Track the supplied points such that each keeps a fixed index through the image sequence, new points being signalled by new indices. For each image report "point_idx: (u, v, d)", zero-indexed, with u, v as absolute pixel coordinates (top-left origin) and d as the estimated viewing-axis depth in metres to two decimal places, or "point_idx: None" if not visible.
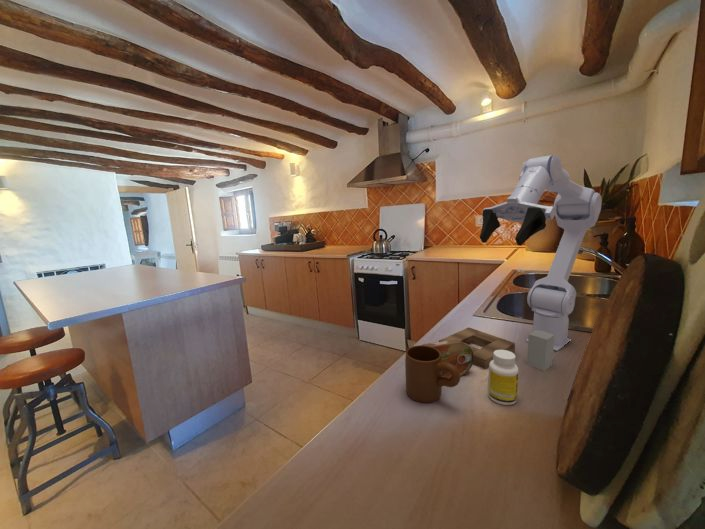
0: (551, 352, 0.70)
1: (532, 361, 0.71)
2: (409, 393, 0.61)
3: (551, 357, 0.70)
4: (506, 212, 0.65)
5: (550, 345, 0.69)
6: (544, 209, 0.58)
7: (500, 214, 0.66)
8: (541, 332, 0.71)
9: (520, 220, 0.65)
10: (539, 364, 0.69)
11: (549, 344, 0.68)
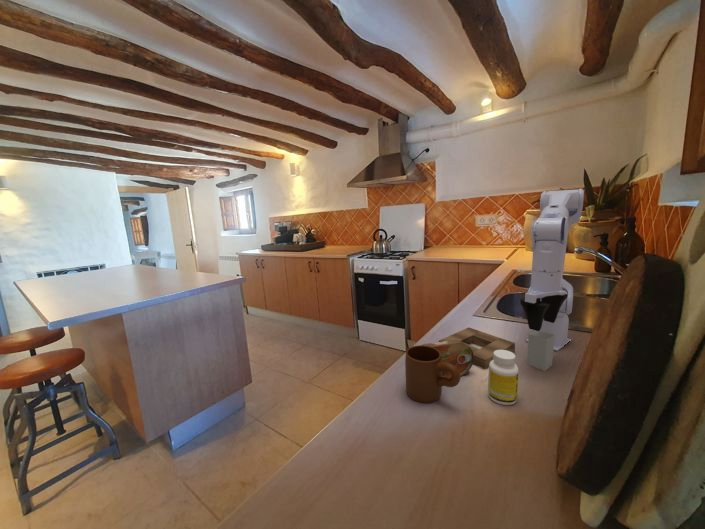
0: (551, 352, 0.70)
1: (532, 361, 0.71)
2: (409, 393, 0.61)
3: (551, 357, 0.70)
4: None
5: (550, 345, 0.69)
6: None
7: (539, 297, 0.66)
8: (541, 332, 0.71)
9: None
10: (539, 364, 0.69)
11: (549, 344, 0.68)
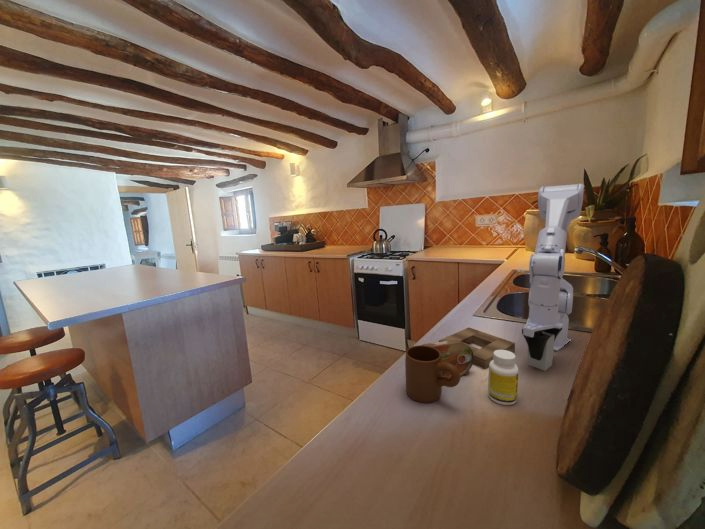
0: (551, 352, 0.70)
1: (532, 360, 0.71)
2: (409, 393, 0.61)
3: (551, 357, 0.70)
4: None
5: (550, 344, 0.69)
6: None
7: None
8: None
9: None
10: (539, 364, 0.69)
11: (549, 344, 0.68)
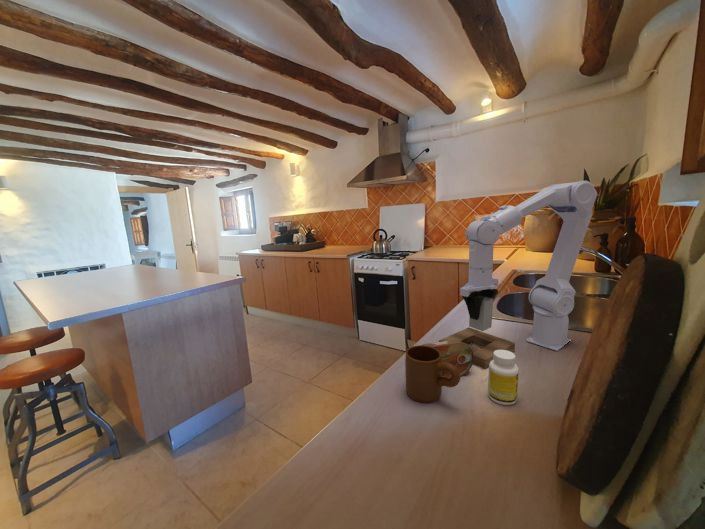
0: (490, 314, 0.76)
1: (473, 323, 0.77)
2: (409, 393, 0.61)
3: (489, 319, 0.77)
4: None
5: (488, 307, 0.75)
6: None
7: (474, 291, 0.75)
8: None
9: None
10: (478, 325, 0.76)
11: (487, 307, 0.75)
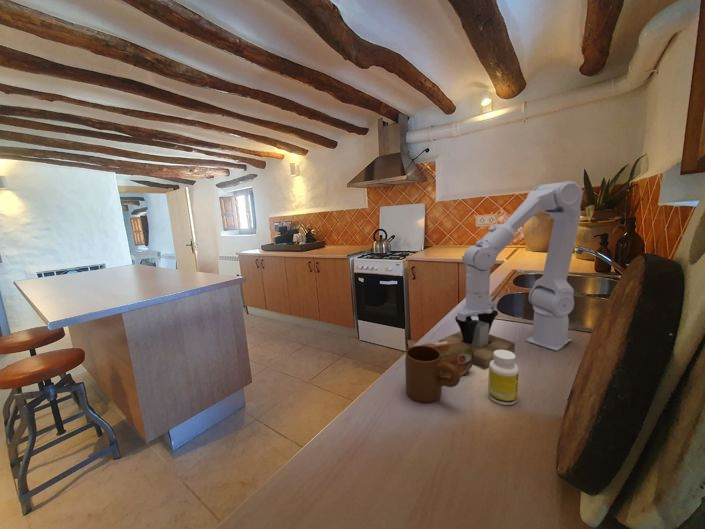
0: (486, 339, 0.78)
1: None
2: (409, 393, 0.61)
3: (486, 343, 0.78)
4: None
5: (484, 332, 0.77)
6: (492, 305, 0.80)
7: (471, 315, 0.76)
8: (478, 321, 0.79)
9: None
10: None
11: (483, 332, 0.77)
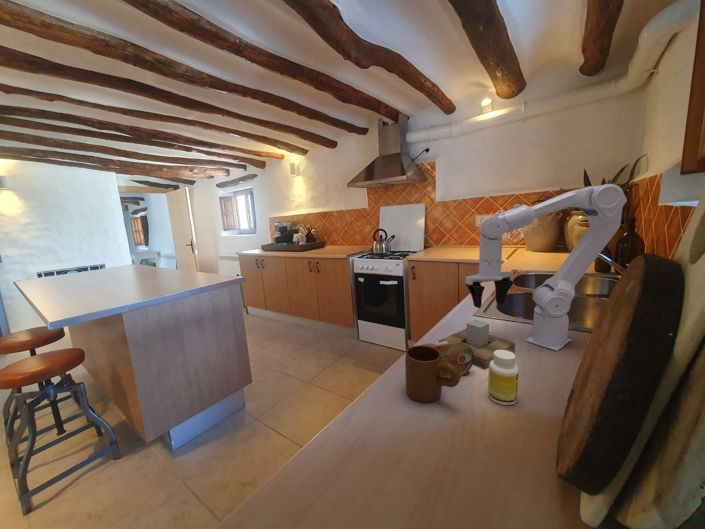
0: (486, 339, 0.78)
1: None
2: (409, 393, 0.61)
3: (486, 343, 0.78)
4: None
5: (484, 332, 0.77)
6: (509, 276, 0.84)
7: (481, 281, 0.82)
8: (478, 321, 0.79)
9: None
10: None
11: (483, 332, 0.77)
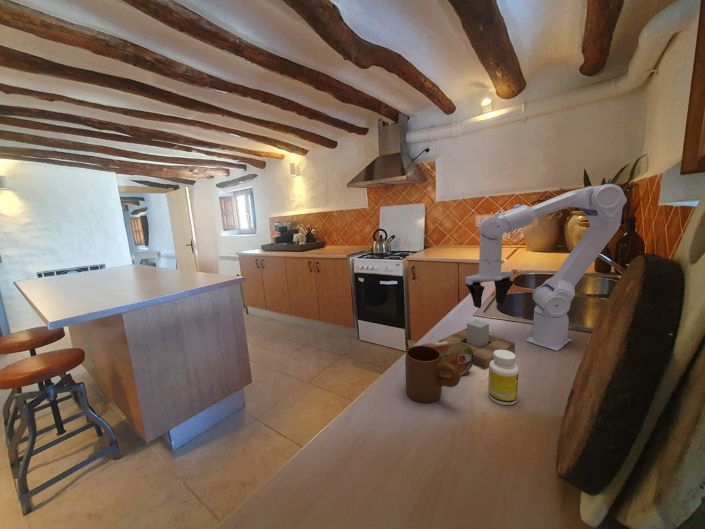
0: (486, 339, 0.78)
1: None
2: (409, 393, 0.61)
3: (486, 343, 0.78)
4: None
5: (484, 332, 0.77)
6: (509, 276, 0.84)
7: (481, 281, 0.82)
8: (478, 321, 0.79)
9: None
10: None
11: (483, 332, 0.77)
